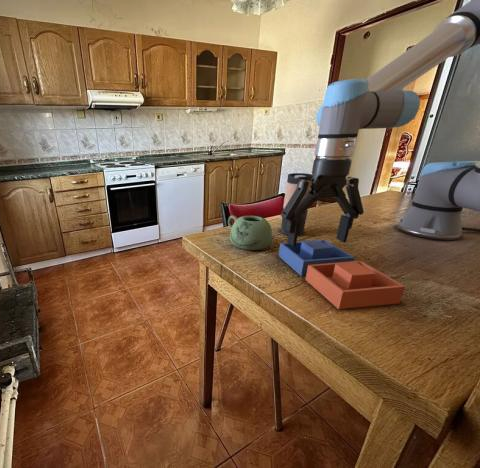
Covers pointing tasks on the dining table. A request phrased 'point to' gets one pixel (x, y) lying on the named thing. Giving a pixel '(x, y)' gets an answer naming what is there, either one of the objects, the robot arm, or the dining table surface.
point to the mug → (250, 232)
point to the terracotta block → (352, 276)
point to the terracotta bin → (379, 293)
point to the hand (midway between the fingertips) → (316, 242)
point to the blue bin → (300, 265)
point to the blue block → (314, 250)
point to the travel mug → (290, 189)
